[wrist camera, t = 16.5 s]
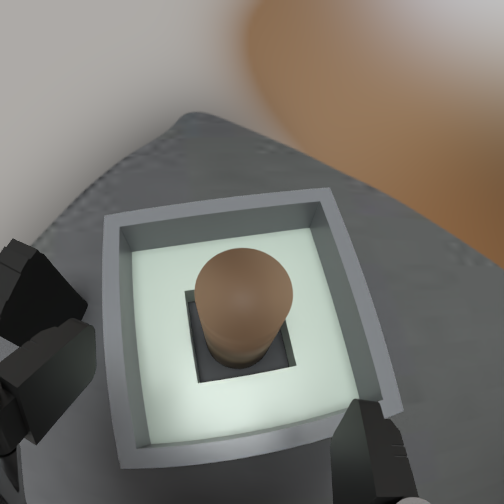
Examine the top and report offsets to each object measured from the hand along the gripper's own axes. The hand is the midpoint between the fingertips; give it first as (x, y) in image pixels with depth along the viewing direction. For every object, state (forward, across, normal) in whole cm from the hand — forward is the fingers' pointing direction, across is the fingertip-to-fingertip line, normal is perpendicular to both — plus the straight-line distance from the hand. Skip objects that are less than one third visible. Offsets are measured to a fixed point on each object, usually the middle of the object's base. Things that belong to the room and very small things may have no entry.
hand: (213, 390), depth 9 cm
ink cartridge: (+8, +12, +7) cm, 16 cm away
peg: (+10, 0, +4) cm, 11 cm away
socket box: (+10, 0, +4) cm, 11 cm away
